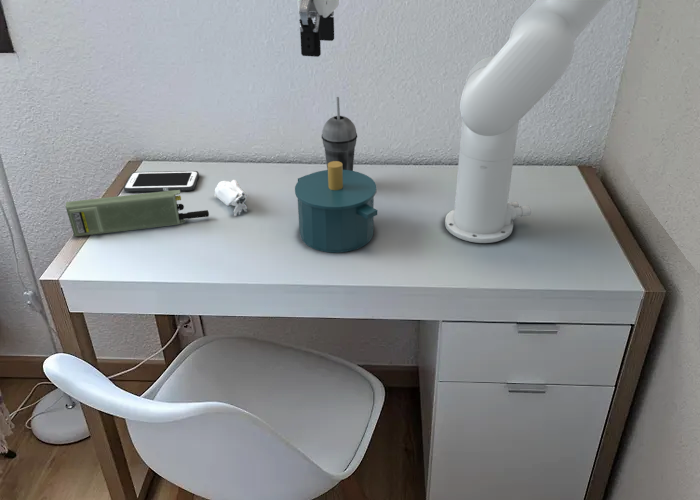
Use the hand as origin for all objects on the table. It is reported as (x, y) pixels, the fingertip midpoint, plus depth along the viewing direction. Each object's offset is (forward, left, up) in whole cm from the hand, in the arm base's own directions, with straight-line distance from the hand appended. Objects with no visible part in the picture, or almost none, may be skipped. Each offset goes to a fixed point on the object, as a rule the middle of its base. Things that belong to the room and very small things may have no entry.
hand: (318, 47), depth 113 cm
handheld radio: (+35, -1, -32) cm, 47 cm away
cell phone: (+32, -19, -32) cm, 49 cm away
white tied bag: (+18, -6, -32) cm, 37 cm away
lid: (-1, +10, -23) cm, 25 cm away
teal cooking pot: (-1, +10, -32) cm, 33 cm away
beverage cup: (-5, -8, -32) cm, 33 cm away
